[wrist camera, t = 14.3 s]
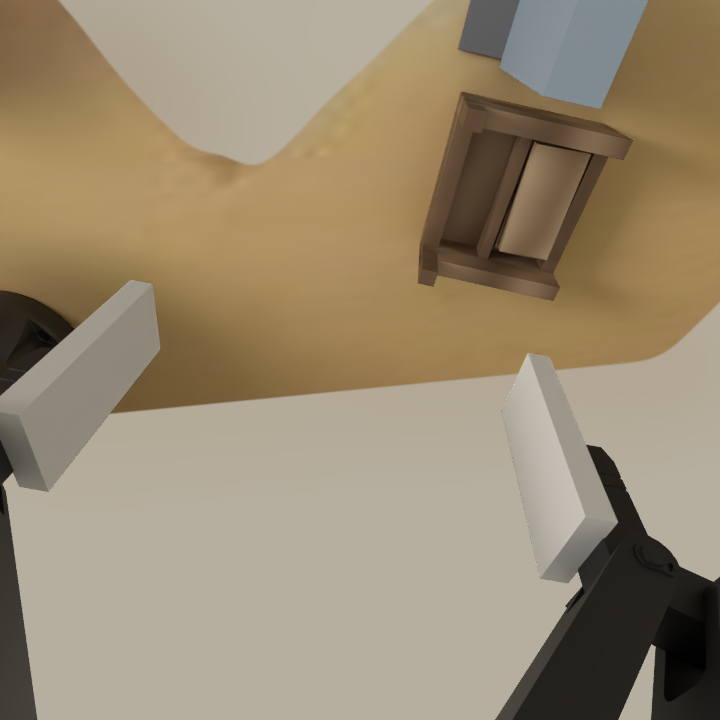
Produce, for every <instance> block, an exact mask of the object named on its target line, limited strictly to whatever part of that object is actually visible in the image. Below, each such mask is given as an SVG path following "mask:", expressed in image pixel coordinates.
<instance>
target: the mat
mask: <svg viewBox="0 0 720 720" xmlns="http://www.w3.org/2000/svg"><path fill="white" fill-rule="evenodd" d="M519 1H520V0H471V2H470V6H469V10H468V13H467V17H466V21H465V25H464V29H463V33H462V37H461V41H460V44H459V48H458V49H460V50H464V51H469V52H473V53H478V54H482V55H486V56H491V57H495V58H500V59H502V56H503V53H504V50H505V46H506V43H507V40H508V37H509V33H510V30H511V27H512V24H513V21H514V17H515V14H516V11H517V8H518V4H519Z"/></svg>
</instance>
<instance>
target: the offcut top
mask: <svg viewBox="0 0 720 720" xmlns="http://www.w3.org/2000/svg"><path fill="white" fill-rule="evenodd" d="M590 156H591V154H590V153H589V152H586V151H581V150H577V149H573V148H568V147H564V146H559V145H555V144H550V143H546V142H542V141H537V140H533V142H532V145H531V148H530V151H529V154H528V157H527V160H526V163H525V165H524V168H523V171H522V174H521V177H520V180H519V183H518V186H517V189H516V192H515V195H514V198H513V201H512V203H511V206H510V209H509V212H508V215H507V218H506V221H505V224H504V227H503V230H502V233H501V236H500V239H499V241H498V247H499V250H500V251H501V252H507V253H512V254H517V255H522V256H528V257H533V258H538V259H544V260H547V258H548V256H549V254H550V251H551V249H552V247H553V244H554V242H555V239H556V237H557V235H558V232H559V230H560V227H561V225H562V223H563V220H564V218H565V216H566V213H567V211H568V208H569V206H570V204H571V201H572V199H573V196H574V194H575V192H576V189H577V187H578V184H579V182H580V180H581V177H582V175H583V173H584V170H585V168H586V165H587V163H588V161H589V158H590Z"/></svg>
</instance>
